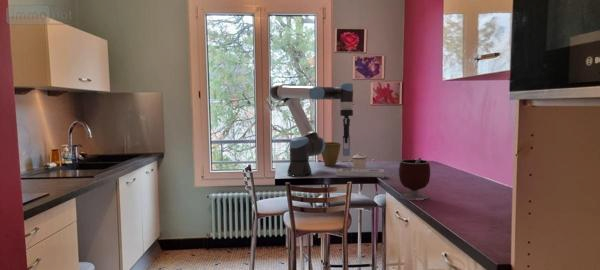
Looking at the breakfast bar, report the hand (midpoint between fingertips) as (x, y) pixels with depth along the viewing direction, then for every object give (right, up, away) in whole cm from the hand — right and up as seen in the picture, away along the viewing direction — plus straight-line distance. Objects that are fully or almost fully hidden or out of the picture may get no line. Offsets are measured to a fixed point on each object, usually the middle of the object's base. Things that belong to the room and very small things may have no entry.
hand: (346, 147), depth 226 cm
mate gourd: (+25, -22, -52) cm, 62 cm away
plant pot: (-6, -14, +44) cm, 46 cm away
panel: (+8, -17, 0) cm, 19 cm away
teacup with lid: (+9, -16, +20) cm, 27 cm away
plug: (0, -5, 0) cm, 5 cm away
